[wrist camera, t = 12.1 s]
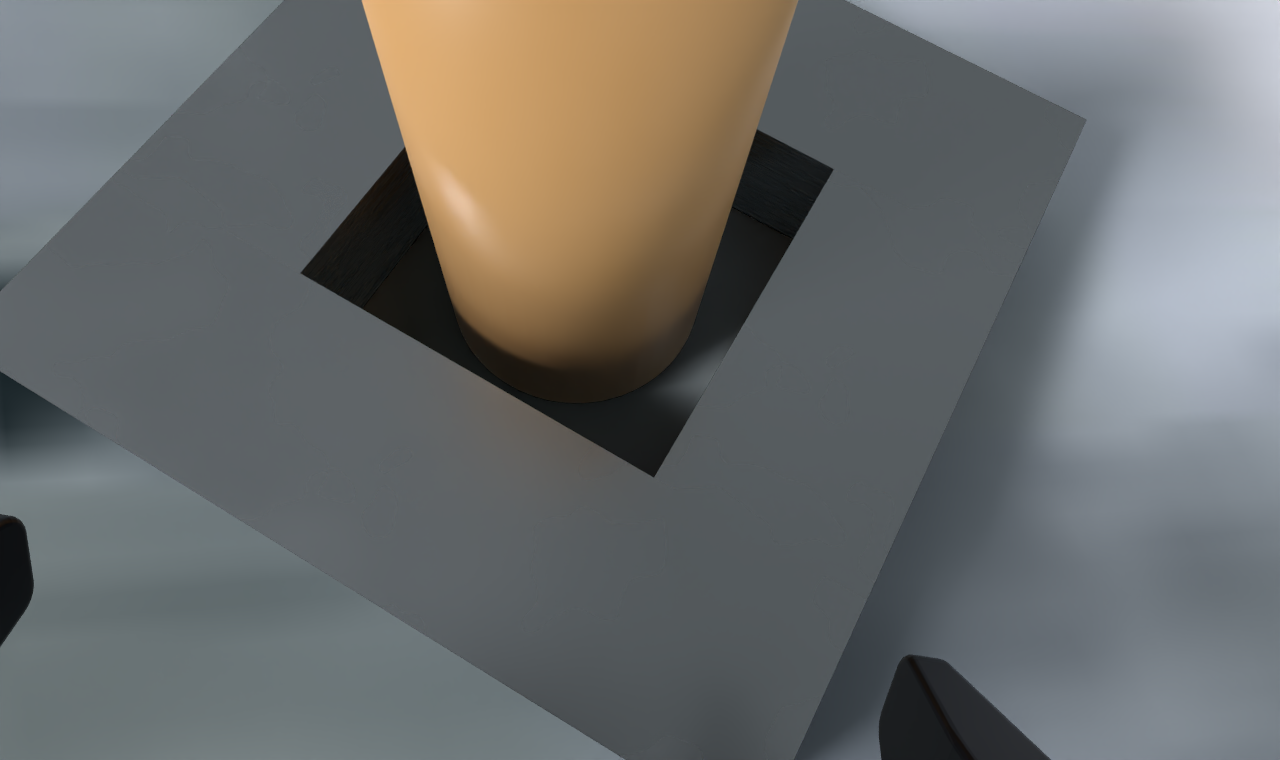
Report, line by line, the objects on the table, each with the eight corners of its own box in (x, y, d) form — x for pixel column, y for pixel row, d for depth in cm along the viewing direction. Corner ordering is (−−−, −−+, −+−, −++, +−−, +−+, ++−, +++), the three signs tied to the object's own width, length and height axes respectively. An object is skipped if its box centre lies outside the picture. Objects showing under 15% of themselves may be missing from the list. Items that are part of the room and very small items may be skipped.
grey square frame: (1019, 195, 22) (1086, 119, 19) (723, 816, 16) (756, 840, 13) (478, -80, 23) (466, -187, 21) (48, 397, 18) (-49, 341, 15)
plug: (742, 340, 20) (1234, -706, 5) (515, 444, 18) (304, -547, 4) (629, 150, 21) (760, -1067, 7) (414, 235, 20) (-10, -1035, 5)
